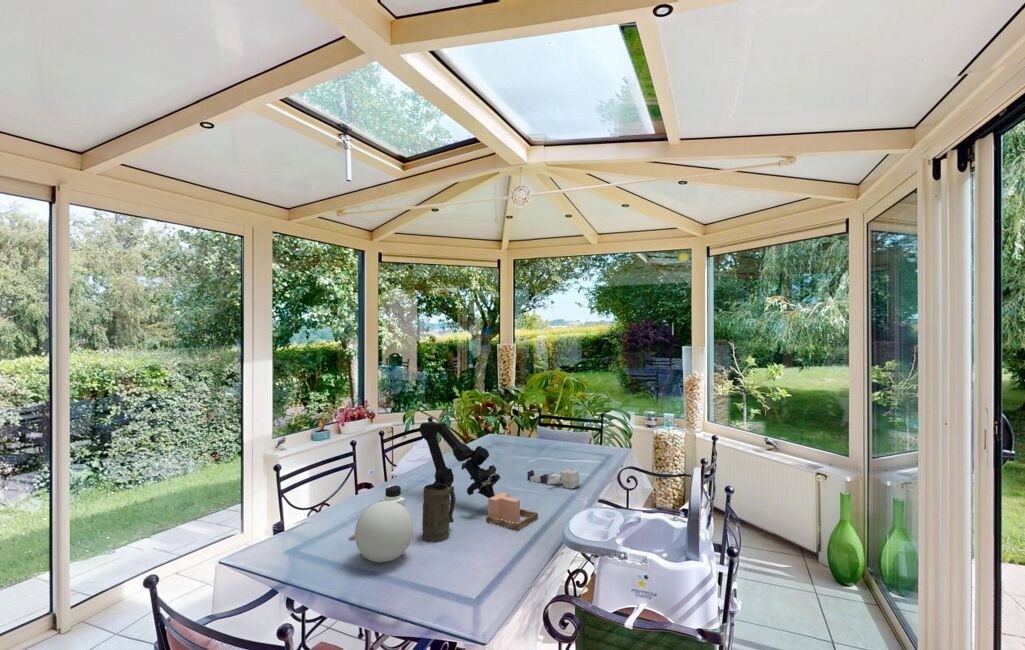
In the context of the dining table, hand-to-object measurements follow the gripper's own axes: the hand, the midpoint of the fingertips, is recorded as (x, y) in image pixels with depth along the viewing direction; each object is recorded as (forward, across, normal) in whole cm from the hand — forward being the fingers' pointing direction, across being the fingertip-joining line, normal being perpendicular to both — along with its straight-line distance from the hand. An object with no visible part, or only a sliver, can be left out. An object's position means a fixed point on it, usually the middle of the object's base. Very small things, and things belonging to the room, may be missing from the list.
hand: (494, 500), depth 205 cm
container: (-21, -26, +31) cm, 46 cm away
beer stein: (0, -28, +10) cm, 30 cm away
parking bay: (+12, 0, -2) cm, 12 cm away
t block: (+9, 0, +1) cm, 9 cm away
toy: (+4, +55, +6) cm, 55 cm away
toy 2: (-1, -55, +11) cm, 56 cm away
